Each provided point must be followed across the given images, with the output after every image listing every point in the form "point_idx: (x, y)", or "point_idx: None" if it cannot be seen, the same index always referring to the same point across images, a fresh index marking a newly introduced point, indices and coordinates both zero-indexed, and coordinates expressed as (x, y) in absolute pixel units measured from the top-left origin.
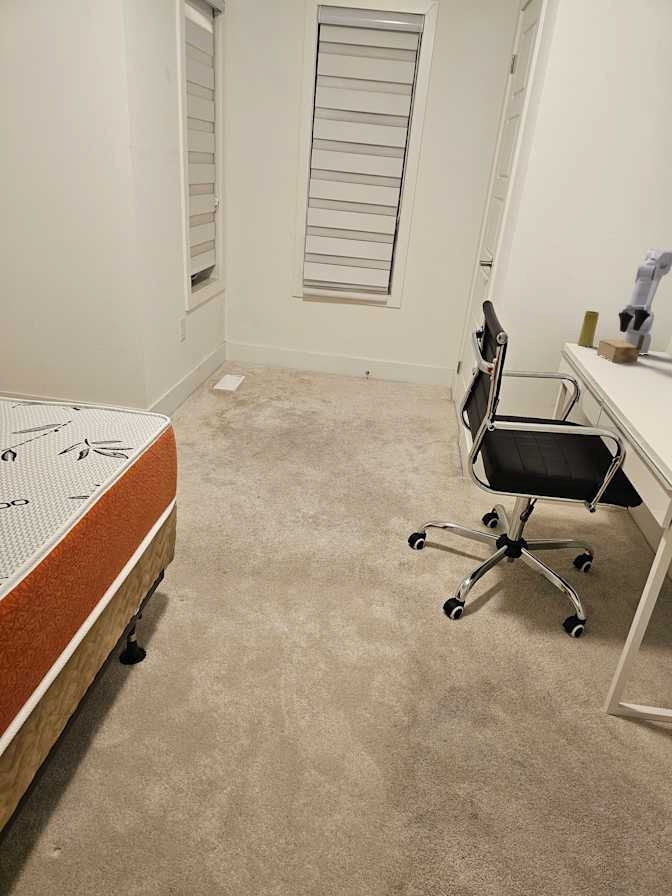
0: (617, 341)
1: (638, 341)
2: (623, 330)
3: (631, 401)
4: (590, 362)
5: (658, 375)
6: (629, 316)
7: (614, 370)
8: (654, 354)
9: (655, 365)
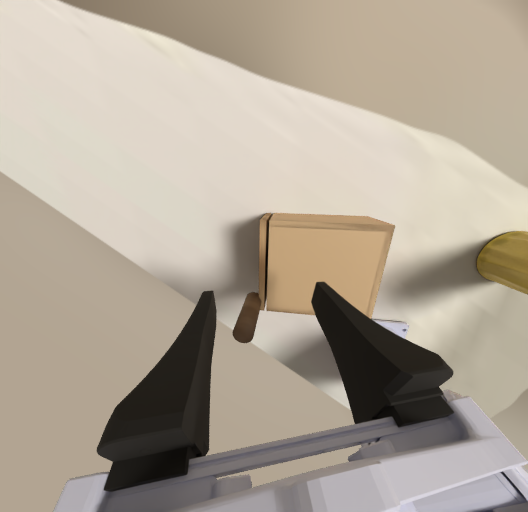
0: (359, 291)
1: (249, 308)
2: (315, 297)
3: None
4: (264, 118)
5: (149, 260)
6: (361, 398)
7: (173, 153)
8: None
9: None
